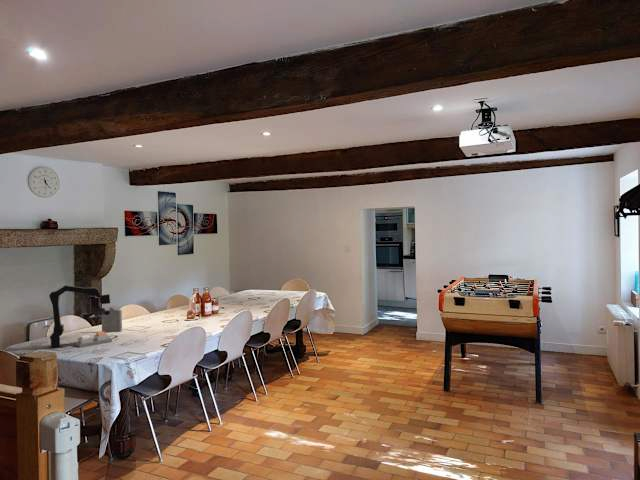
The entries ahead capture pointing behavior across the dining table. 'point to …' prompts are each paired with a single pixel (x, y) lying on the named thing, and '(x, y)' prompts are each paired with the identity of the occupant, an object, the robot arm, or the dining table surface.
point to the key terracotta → (100, 333)
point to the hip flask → (112, 321)
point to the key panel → (92, 341)
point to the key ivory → (85, 337)
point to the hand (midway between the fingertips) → (95, 325)
